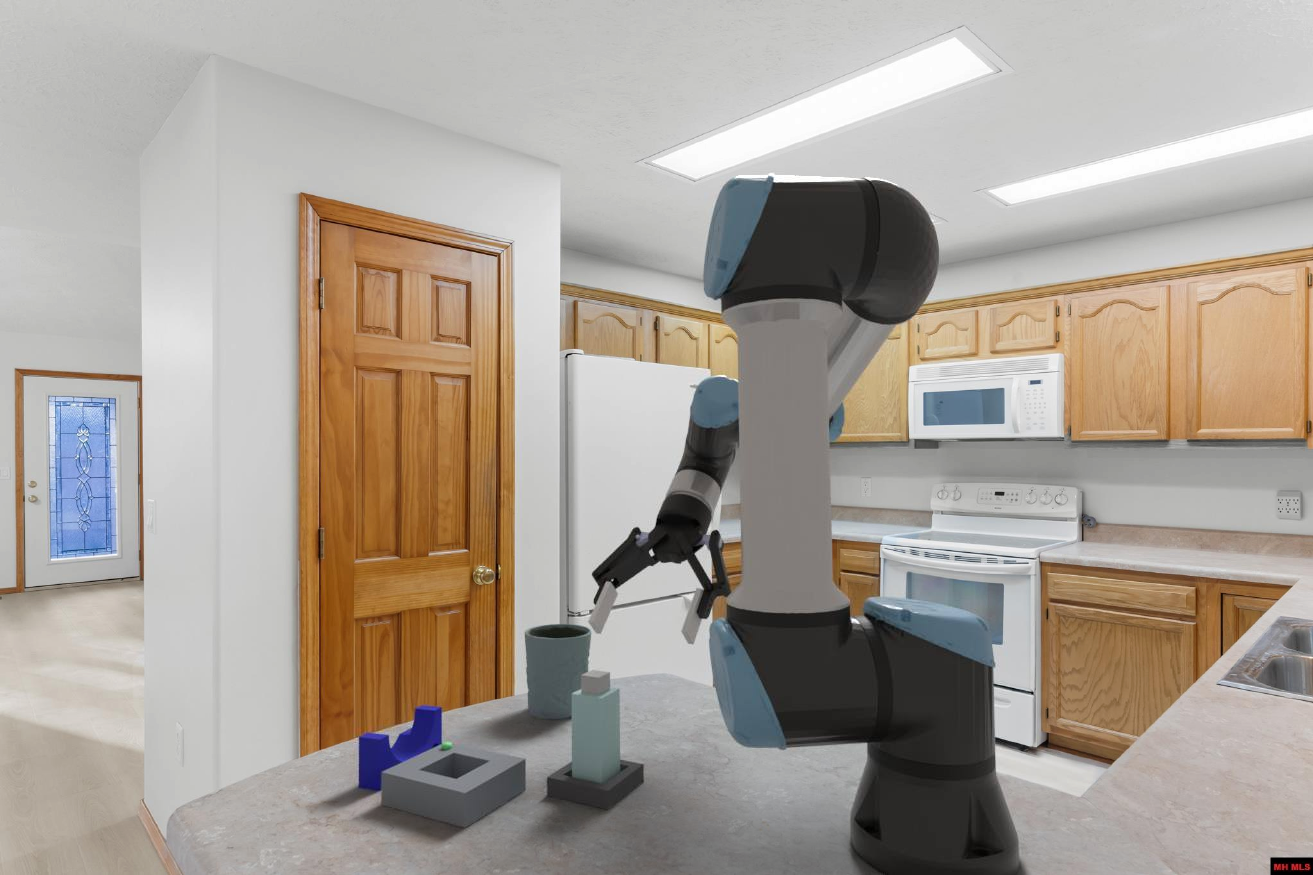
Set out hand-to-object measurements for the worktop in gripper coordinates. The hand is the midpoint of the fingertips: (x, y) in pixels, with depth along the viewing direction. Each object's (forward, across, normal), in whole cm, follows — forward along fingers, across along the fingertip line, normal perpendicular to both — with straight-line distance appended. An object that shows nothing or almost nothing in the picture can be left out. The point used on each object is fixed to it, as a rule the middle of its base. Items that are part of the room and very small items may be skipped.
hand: (639, 632), depth 95 cm
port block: (+25, +13, +3) cm, 28 cm away
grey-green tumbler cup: (+4, +20, -18) cm, 28 cm away
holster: (+18, 0, -4) cm, 19 cm away
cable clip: (+23, +25, 0) cm, 34 cm away
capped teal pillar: (+18, 0, -4) cm, 19 cm away
